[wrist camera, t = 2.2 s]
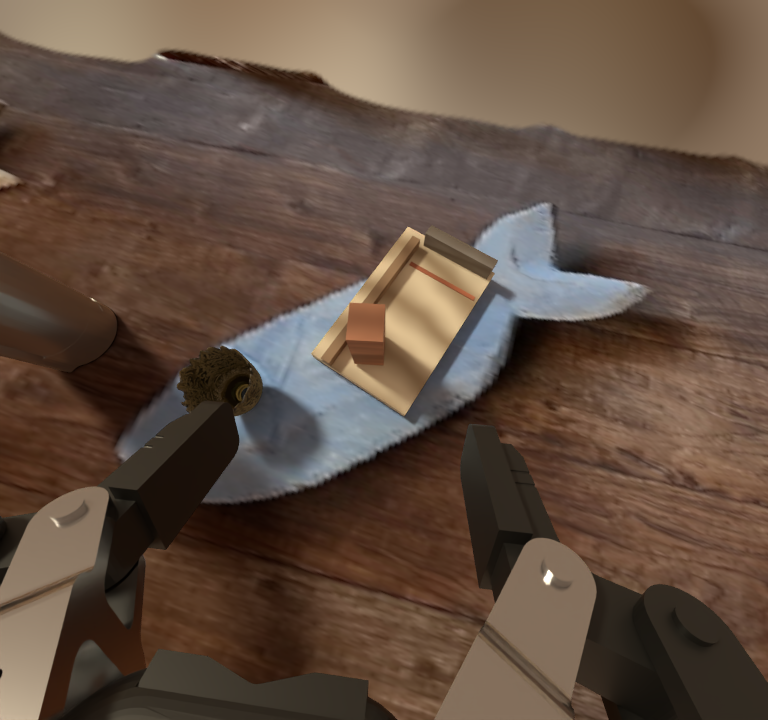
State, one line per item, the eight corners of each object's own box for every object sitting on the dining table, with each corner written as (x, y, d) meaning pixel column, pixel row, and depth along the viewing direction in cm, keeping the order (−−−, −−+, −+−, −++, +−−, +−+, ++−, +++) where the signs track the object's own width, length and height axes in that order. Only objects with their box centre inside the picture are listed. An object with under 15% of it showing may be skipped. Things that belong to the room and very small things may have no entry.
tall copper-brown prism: (383, 365, 37) (382, 341, 29) (354, 363, 37) (345, 339, 29) (385, 330, 38) (385, 298, 30) (357, 328, 38) (350, 296, 30)
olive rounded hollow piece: (213, 376, 39) (170, 359, 31) (269, 358, 39) (241, 336, 32) (225, 432, 37) (182, 428, 29) (283, 411, 37) (257, 402, 30)
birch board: (404, 416, 37) (406, 412, 33) (313, 357, 39) (305, 347, 35) (491, 279, 42) (501, 262, 39) (407, 233, 45) (409, 213, 41)
